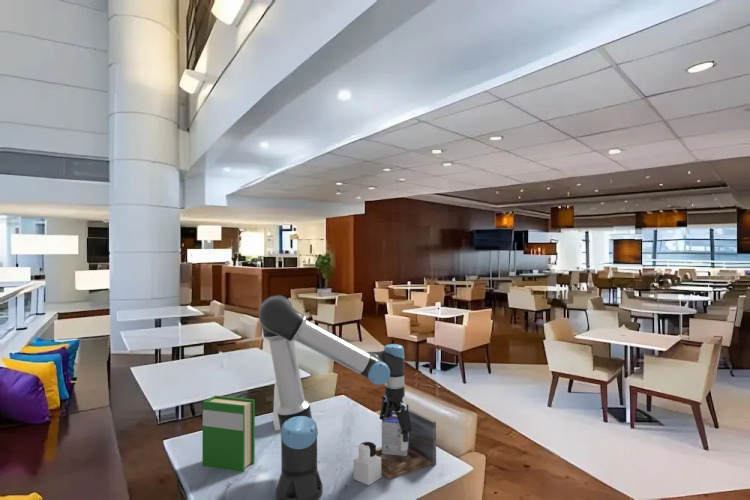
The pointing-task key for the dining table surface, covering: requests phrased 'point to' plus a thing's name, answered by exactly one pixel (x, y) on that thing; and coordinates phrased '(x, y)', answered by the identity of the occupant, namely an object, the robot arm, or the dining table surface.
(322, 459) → the dining table surface
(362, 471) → the medicine bottle
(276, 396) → the milk
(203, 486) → the dining table surface
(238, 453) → the hardback book
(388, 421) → the ink cartridge box
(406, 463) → the wall dock
